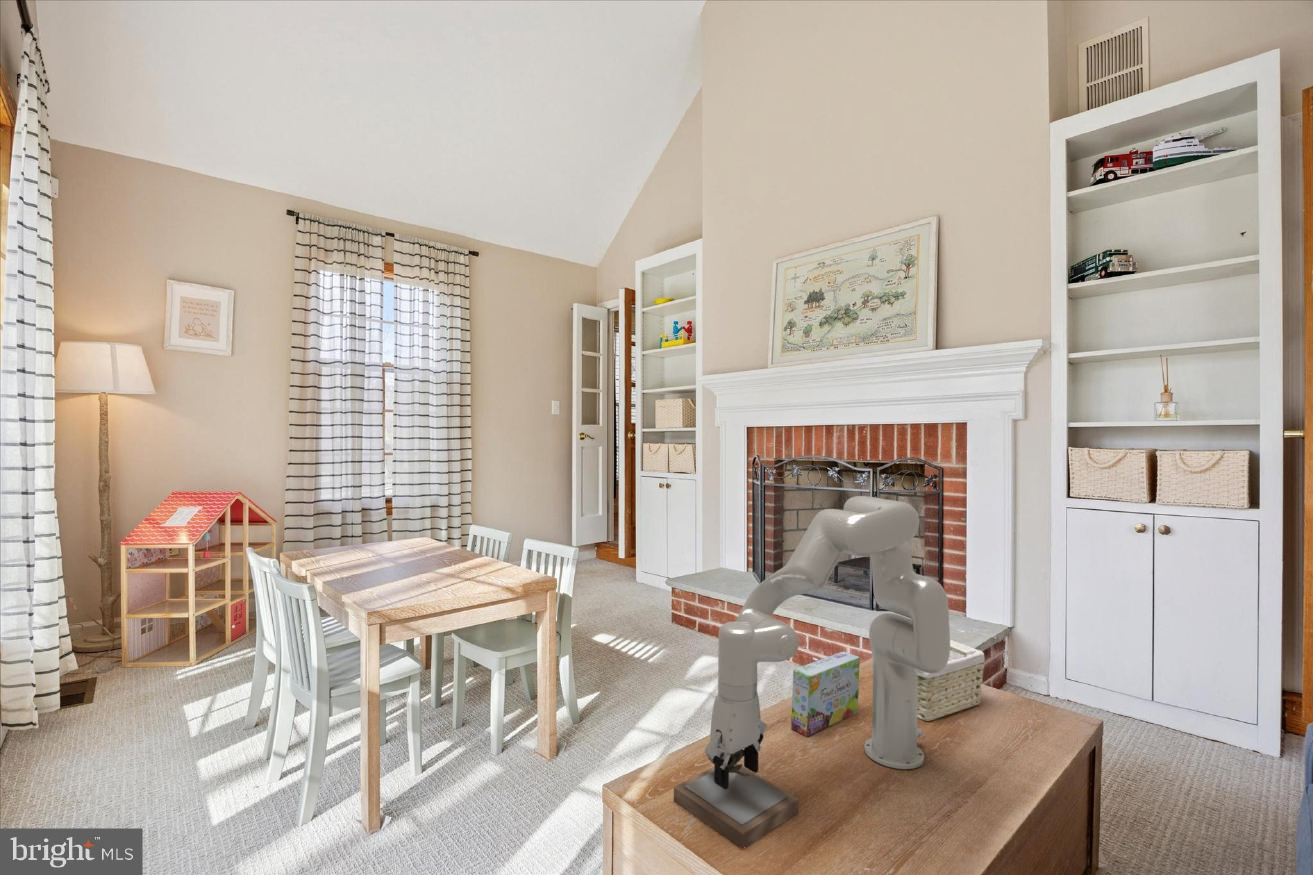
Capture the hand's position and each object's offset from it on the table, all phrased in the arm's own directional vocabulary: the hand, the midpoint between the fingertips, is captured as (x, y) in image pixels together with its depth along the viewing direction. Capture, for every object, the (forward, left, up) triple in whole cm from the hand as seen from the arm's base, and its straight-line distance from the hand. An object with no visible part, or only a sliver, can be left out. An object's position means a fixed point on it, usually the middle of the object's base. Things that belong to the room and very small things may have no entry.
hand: (736, 776), depth 120 cm
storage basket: (-74, +3, -6) cm, 75 cm away
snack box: (-44, -9, -6) cm, 45 cm away
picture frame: (0, 0, -6) cm, 6 cm away
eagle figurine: (+1, -4, 0) cm, 4 cm away
